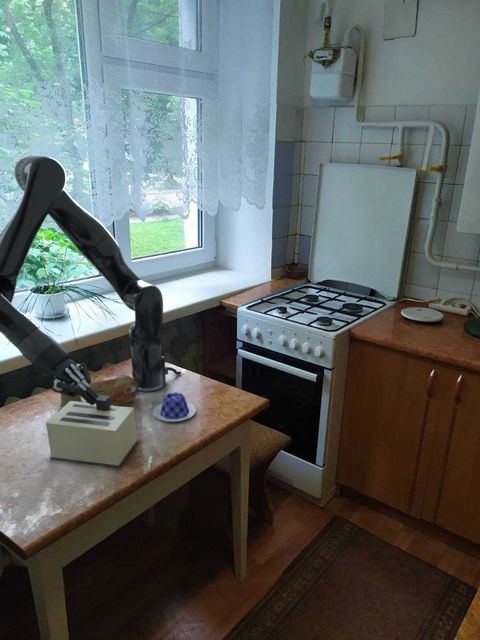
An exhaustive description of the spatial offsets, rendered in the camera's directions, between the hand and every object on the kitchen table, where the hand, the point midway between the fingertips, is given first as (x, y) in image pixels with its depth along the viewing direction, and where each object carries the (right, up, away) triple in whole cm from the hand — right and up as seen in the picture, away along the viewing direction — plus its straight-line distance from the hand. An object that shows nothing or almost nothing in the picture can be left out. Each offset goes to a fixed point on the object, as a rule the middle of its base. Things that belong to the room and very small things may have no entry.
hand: (96, 401), depth 121 cm
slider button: (+2, -2, 0) cm, 2 cm away
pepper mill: (-14, -4, +21) cm, 25 cm away
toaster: (-1, -12, +1) cm, 12 cm away
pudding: (+16, -5, +19) cm, 26 cm away
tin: (-3, -3, +23) cm, 24 cm away
